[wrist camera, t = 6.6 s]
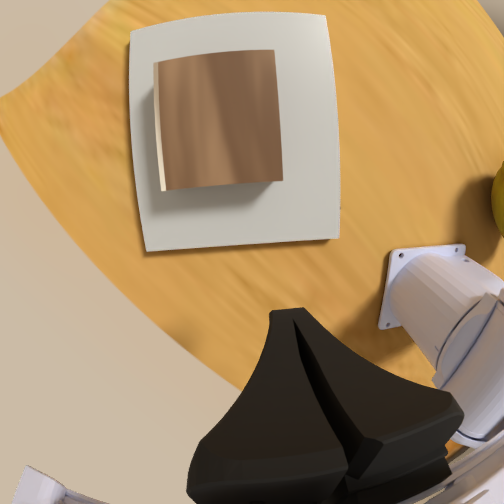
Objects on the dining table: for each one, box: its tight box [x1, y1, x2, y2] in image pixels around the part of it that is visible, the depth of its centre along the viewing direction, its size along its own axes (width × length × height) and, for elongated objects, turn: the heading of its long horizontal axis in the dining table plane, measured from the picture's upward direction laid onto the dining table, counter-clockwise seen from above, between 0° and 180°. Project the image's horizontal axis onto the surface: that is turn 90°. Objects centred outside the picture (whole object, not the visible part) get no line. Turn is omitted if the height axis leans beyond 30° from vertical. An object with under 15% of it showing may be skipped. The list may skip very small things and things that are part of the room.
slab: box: [153, 50, 283, 191], centre depth 15 cm, size 3×8×7 cm
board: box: [129, 12, 340, 252], centre depth 16 cm, size 14×17×1 cm
